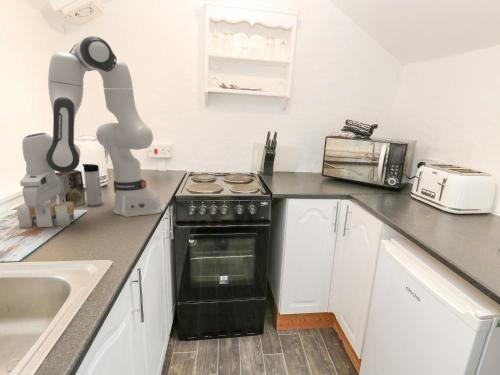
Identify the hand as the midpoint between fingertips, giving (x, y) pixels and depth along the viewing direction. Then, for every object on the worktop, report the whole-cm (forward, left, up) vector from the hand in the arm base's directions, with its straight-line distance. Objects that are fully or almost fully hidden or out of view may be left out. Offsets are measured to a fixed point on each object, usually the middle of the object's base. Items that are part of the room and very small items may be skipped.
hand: (47, 210), depth 116 cm
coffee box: (0, -24, -6) cm, 25 cm away
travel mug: (-10, -23, -5) cm, 26 cm away
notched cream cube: (0, +1, -5) cm, 5 cm away
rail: (0, +1, -5) cm, 5 cm away
